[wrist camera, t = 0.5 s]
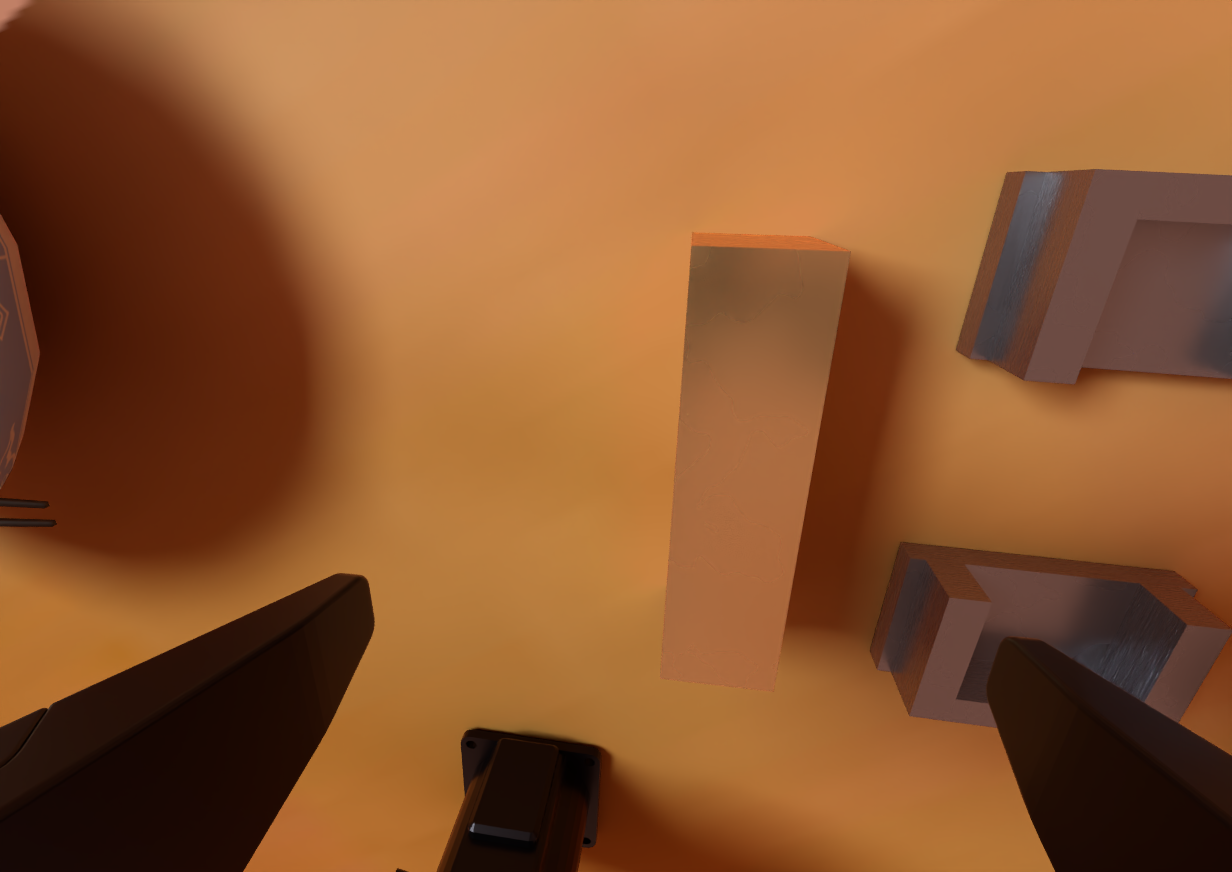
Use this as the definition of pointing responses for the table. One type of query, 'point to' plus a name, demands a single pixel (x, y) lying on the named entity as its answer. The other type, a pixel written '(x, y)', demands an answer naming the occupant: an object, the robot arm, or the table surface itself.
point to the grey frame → (1055, 352)
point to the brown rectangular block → (746, 448)
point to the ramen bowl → (15, 368)
